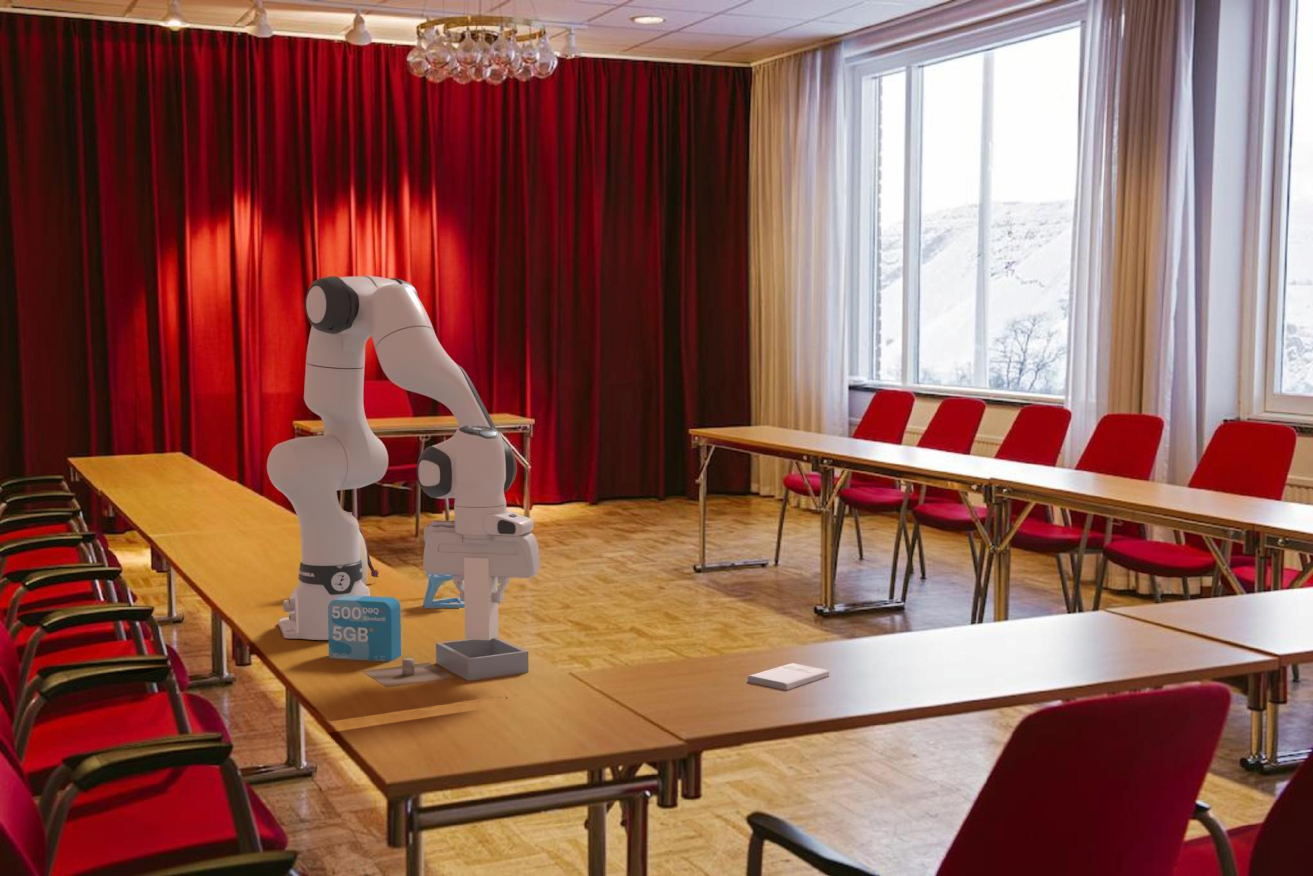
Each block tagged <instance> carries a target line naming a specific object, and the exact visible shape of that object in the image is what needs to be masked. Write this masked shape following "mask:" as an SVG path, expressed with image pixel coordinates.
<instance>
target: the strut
mask: <svg viewBox="0 0 1313 876" xmlns="http://www.w3.org/2000/svg"><path fill="white" fill-rule="evenodd" d="M463 583H464V599H465V601H464V604H465V608H464V640H465V639H472V640H491V639H493V638H494V637H498V636H499V603H492V593H493V592H495V591H497V590H498V588H499V583H498V577H490V574H489V558H472V557H464V580H463Z"/></svg>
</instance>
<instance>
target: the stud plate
mask: <svg viewBox="0 0 1313 876" xmlns="http://www.w3.org/2000/svg"><path fill="white" fill-rule="evenodd" d="M401 661H402V662H401V666H400V665H398V666H393V667H385V668H377V669H375V668H374V669H370V670H362V673H363V674H365V675H367V676H368V677H370V678H372V679H373V680H374V681H376V682H378V683H380V684H381V685H383V686H384V687H385V688H392V687H399V686H406V685H412V684H420V683H426V682H427V683H428V682H434V681H441V680H449V679H454V678H455V679H456V676H454V675H452V674H450V673H449V672H447V671H445V670H443V669H441V668H440V667H438V666H437V665H434V664H432V663H430V662H422V663H415V659H414V658H412V657H409V658H408V657H407V658H402V659H401Z"/></svg>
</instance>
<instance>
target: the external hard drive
mask: <svg viewBox="0 0 1313 876" xmlns="http://www.w3.org/2000/svg"><path fill="white" fill-rule="evenodd" d="M829 676H830V671H829V670H828V669H824V668H819V667H814V666H809V665H805V664H799V663H796V662H795V663H794V662H792V663H787V664H785V665H781V666H777V667H774V668H771V669H767V670H764V671H760V672H757V673H754V674H750V675H748V676H747V683H751V684H756V685H760V686H766V687H769V688H775V689H779V690H784V691H788V690H792V689H794V688H798V687H800V686H804V685H806V684H811V683H813V682H816V681H819V680H822V679H825V678H827V677H829Z"/></svg>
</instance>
